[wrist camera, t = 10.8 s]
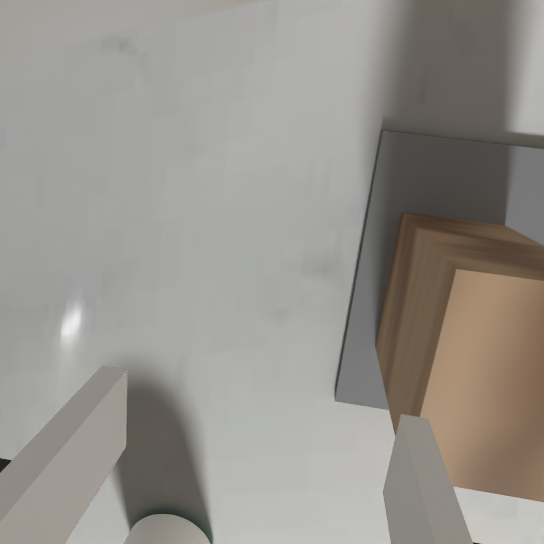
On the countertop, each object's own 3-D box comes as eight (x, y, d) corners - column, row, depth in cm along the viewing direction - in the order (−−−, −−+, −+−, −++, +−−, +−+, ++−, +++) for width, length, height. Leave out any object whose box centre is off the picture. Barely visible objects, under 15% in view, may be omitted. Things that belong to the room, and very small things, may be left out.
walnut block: (375, 346, 30) (404, 477, 19) (402, 212, 27) (456, 269, 16) (467, 360, 30) (556, 504, 18) (504, 225, 27) (636, 293, 15)
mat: (334, 396, 32) (334, 400, 32) (382, 130, 27) (383, 130, 26) (662, 449, 30) (669, 455, 30) (785, 177, 25) (795, 178, 24)
